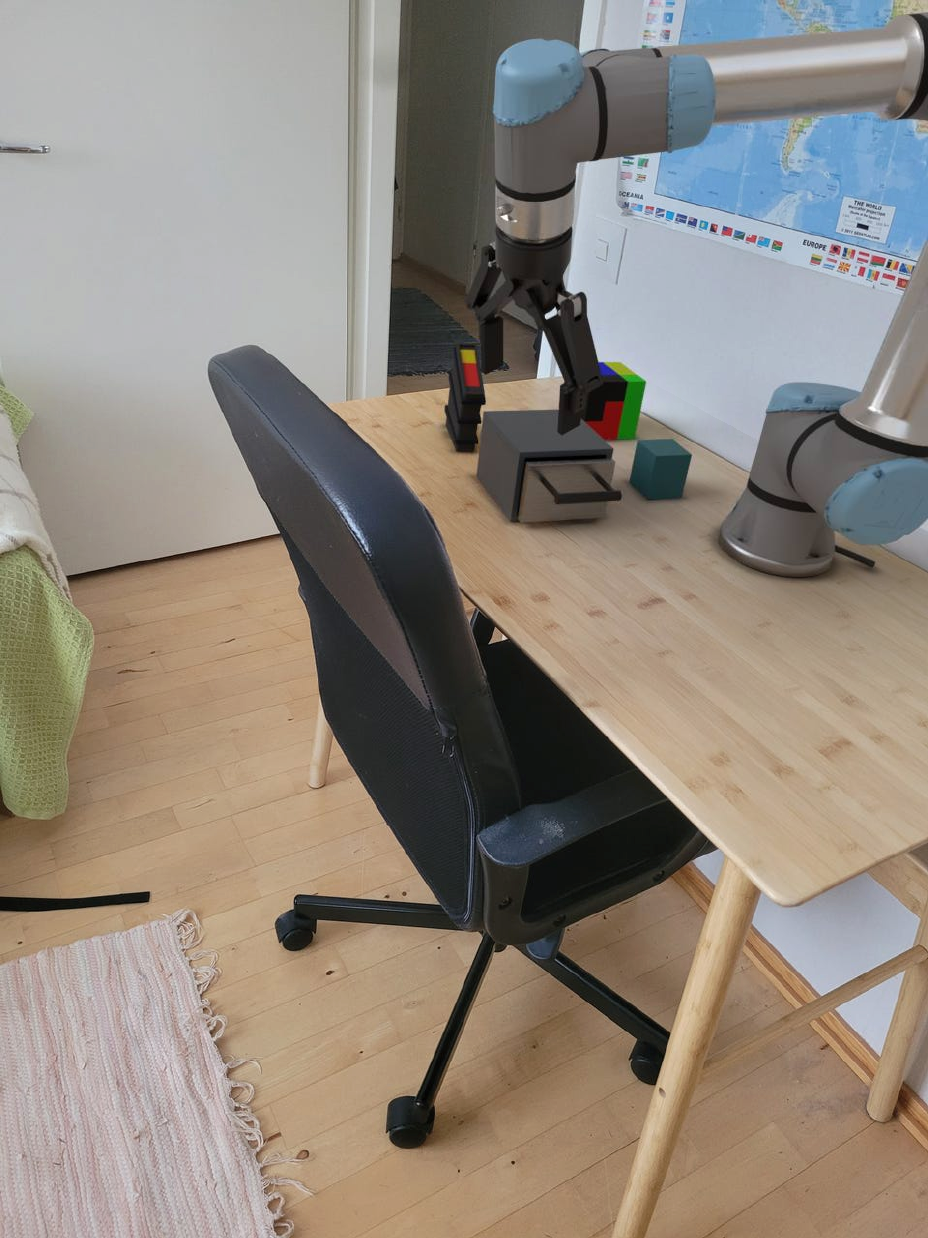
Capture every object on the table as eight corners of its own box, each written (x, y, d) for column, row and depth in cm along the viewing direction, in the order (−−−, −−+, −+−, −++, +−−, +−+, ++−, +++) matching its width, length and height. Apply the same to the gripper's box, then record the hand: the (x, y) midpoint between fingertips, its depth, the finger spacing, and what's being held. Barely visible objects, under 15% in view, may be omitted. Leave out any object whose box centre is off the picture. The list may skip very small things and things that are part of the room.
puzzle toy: (558, 418, 167) (567, 362, 161) (609, 416, 170) (620, 361, 164) (581, 440, 159) (591, 382, 153) (634, 438, 162) (646, 381, 156)
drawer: (625, 539, 127) (637, 482, 123) (538, 545, 123) (547, 486, 119) (566, 476, 143) (575, 423, 139) (488, 480, 139) (494, 426, 135)
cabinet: (600, 516, 135) (613, 448, 129) (510, 522, 131) (519, 452, 125) (560, 472, 147) (570, 408, 141) (476, 476, 142) (483, 411, 137)
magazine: (462, 410, 161) (478, 342, 148) (472, 470, 154) (489, 404, 141) (441, 409, 160) (454, 341, 147) (449, 470, 153) (464, 403, 141)
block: (663, 480, 148) (672, 438, 144) (682, 497, 143) (692, 454, 139) (628, 482, 146) (637, 439, 142) (646, 499, 141) (656, 455, 137)
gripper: (426, 186, 97) (438, 358, 114) (591, 297, 84) (577, 471, 101) (484, 162, 99) (487, 333, 116) (653, 266, 87) (629, 440, 104)
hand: (529, 398), depth 109 cm, fingers open, 13 cm apart
